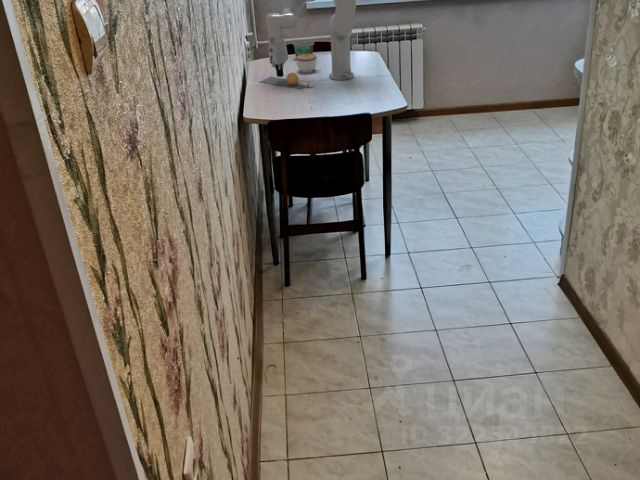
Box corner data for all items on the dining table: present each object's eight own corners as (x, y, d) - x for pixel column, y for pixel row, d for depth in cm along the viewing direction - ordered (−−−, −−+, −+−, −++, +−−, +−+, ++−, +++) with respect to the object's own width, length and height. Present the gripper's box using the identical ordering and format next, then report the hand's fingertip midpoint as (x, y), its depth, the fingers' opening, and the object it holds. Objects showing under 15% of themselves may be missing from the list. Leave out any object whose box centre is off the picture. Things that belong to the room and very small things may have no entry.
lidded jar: (314, 74, 345) (314, 56, 341) (294, 74, 347) (293, 56, 343) (319, 68, 354) (318, 50, 350) (299, 68, 356) (298, 50, 352)
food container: (290, 60, 370) (289, 42, 365) (294, 57, 375) (293, 39, 370) (311, 61, 366) (310, 43, 361) (315, 58, 371) (314, 40, 366)
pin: (299, 85, 331) (313, 87, 327) (296, 85, 329) (310, 87, 325) (299, 81, 330) (313, 83, 326) (297, 80, 329) (311, 83, 324)
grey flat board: (259, 82, 337) (258, 81, 337) (270, 76, 345) (270, 76, 344) (300, 89, 325) (300, 88, 324) (312, 83, 332) (312, 83, 331)
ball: (292, 68, 328) (286, 75, 333) (288, 75, 325) (282, 82, 329) (302, 75, 330) (296, 82, 334) (298, 82, 326) (292, 89, 331)
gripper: (273, 44, 319) (277, 81, 328) (291, 36, 329) (294, 72, 338) (260, 42, 323) (265, 79, 332) (279, 35, 333) (283, 71, 342)
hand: (280, 76), depth 335 cm, fingers closed
